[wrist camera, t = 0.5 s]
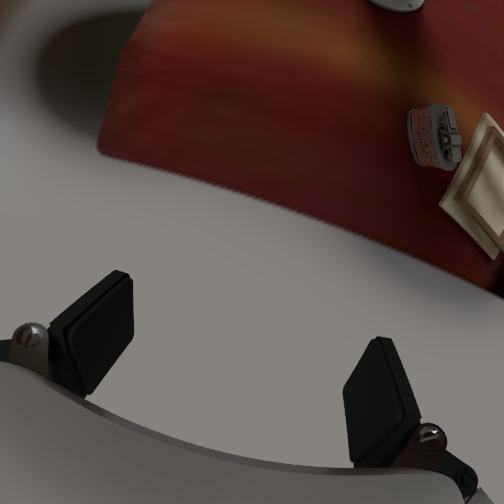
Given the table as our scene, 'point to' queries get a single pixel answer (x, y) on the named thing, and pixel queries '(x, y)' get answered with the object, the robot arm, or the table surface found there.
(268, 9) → the table surface
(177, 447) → the robot arm
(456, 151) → the lighter
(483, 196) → the square beige tray
